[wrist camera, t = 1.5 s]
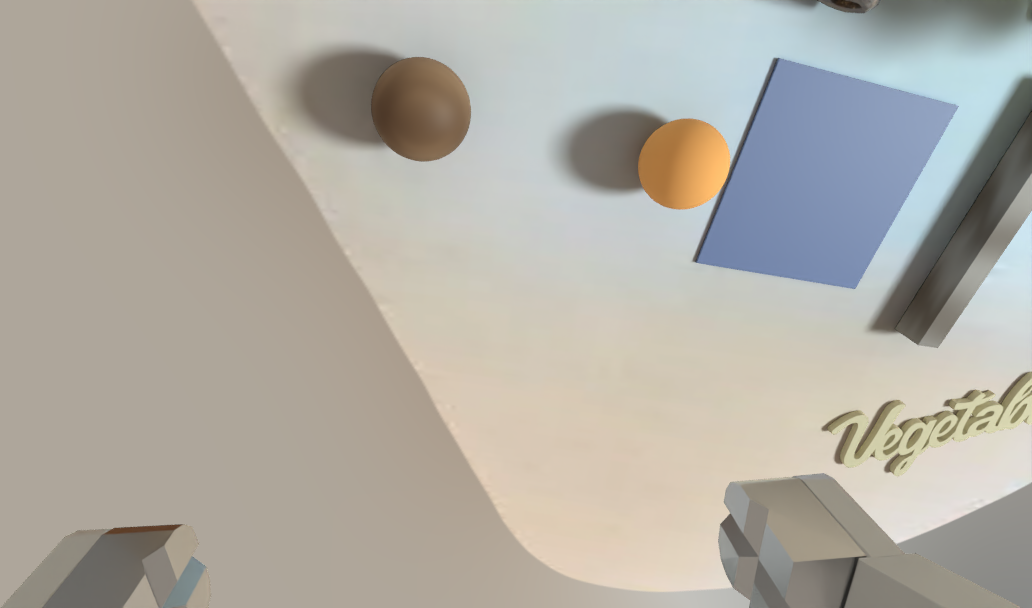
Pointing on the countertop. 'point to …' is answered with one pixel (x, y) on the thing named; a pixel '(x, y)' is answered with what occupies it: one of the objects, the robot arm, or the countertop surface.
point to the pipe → (851, 5)
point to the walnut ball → (421, 109)
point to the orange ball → (684, 164)
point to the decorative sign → (932, 426)
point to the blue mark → (822, 175)
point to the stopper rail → (974, 246)
